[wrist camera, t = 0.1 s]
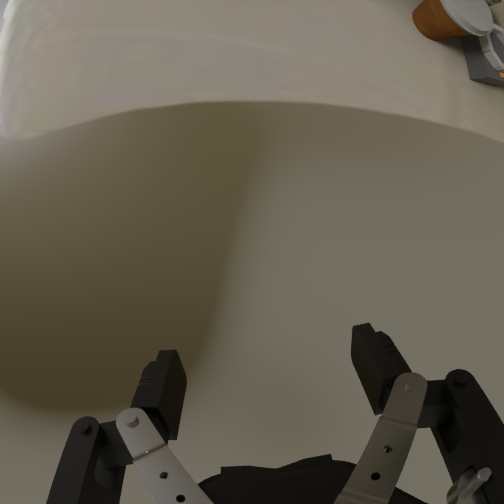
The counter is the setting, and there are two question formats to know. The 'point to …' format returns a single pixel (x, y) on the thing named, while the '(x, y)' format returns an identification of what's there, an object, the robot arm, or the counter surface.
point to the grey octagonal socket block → (486, 56)
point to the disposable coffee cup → (452, 18)
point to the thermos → (492, 2)
